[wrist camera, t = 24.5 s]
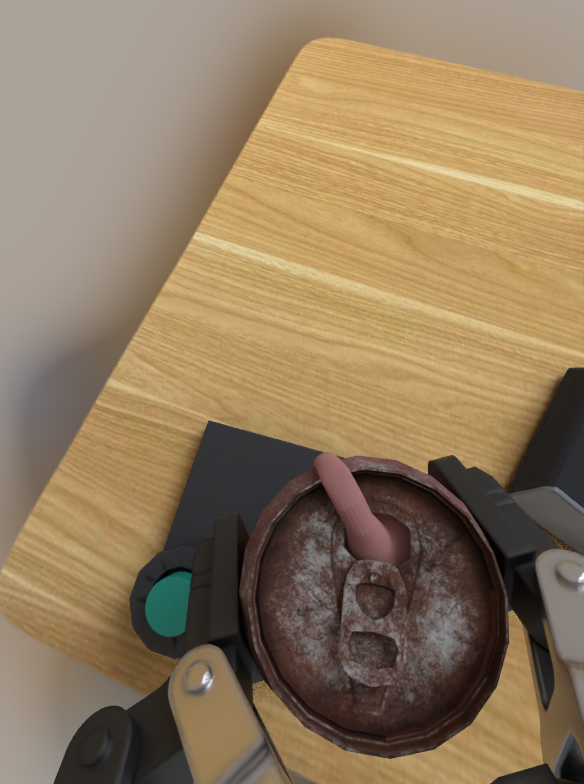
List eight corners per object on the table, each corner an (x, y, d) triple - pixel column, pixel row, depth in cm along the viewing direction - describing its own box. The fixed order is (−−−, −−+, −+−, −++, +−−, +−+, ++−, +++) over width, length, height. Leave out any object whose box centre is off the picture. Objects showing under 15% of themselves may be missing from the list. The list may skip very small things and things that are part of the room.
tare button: (147, 618, 23) (136, 627, 21) (166, 564, 23) (156, 569, 22) (195, 634, 22) (187, 645, 21) (212, 580, 23) (205, 586, 22)
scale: (137, 621, 25) (115, 638, 22) (206, 421, 29) (195, 413, 26) (373, 704, 23) (382, 734, 20) (415, 479, 27) (428, 477, 24)
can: (349, 456, 22) (412, 396, 9) (406, 556, 20) (596, 675, 7) (260, 505, 22) (181, 522, 8) (312, 612, 20) (320, 858, 6)
